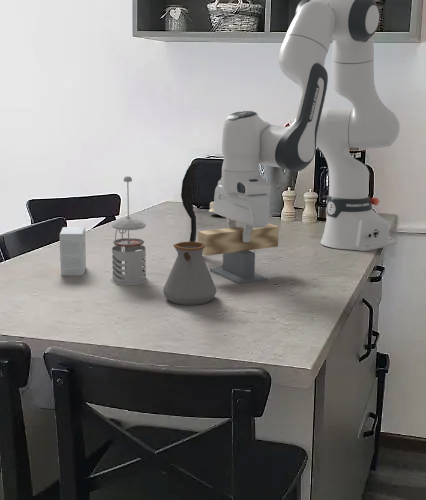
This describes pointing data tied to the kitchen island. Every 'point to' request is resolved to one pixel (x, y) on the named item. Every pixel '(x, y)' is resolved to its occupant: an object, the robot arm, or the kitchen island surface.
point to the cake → (211, 207)
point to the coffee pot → (189, 276)
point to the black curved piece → (189, 197)
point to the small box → (72, 250)
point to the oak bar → (237, 239)
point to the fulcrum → (239, 267)
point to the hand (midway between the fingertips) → (239, 239)
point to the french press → (128, 251)
